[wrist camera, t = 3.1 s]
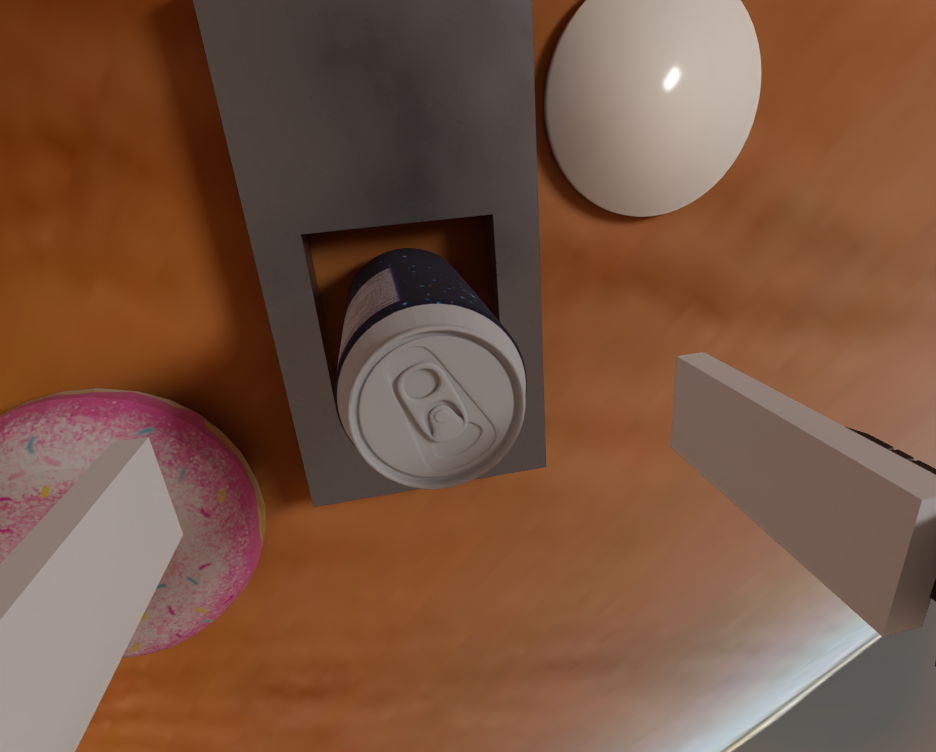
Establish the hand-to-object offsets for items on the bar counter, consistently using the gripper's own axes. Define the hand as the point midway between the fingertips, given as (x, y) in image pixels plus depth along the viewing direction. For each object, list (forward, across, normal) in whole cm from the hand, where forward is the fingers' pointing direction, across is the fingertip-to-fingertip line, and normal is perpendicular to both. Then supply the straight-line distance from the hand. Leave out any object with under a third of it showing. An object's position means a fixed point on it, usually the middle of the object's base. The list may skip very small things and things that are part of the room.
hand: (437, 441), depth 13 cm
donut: (+14, -14, -8) cm, 21 cm away
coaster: (+13, +12, +8) cm, 20 cm away
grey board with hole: (+13, 0, +2) cm, 13 cm away
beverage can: (+13, 0, 0) cm, 13 cm away
